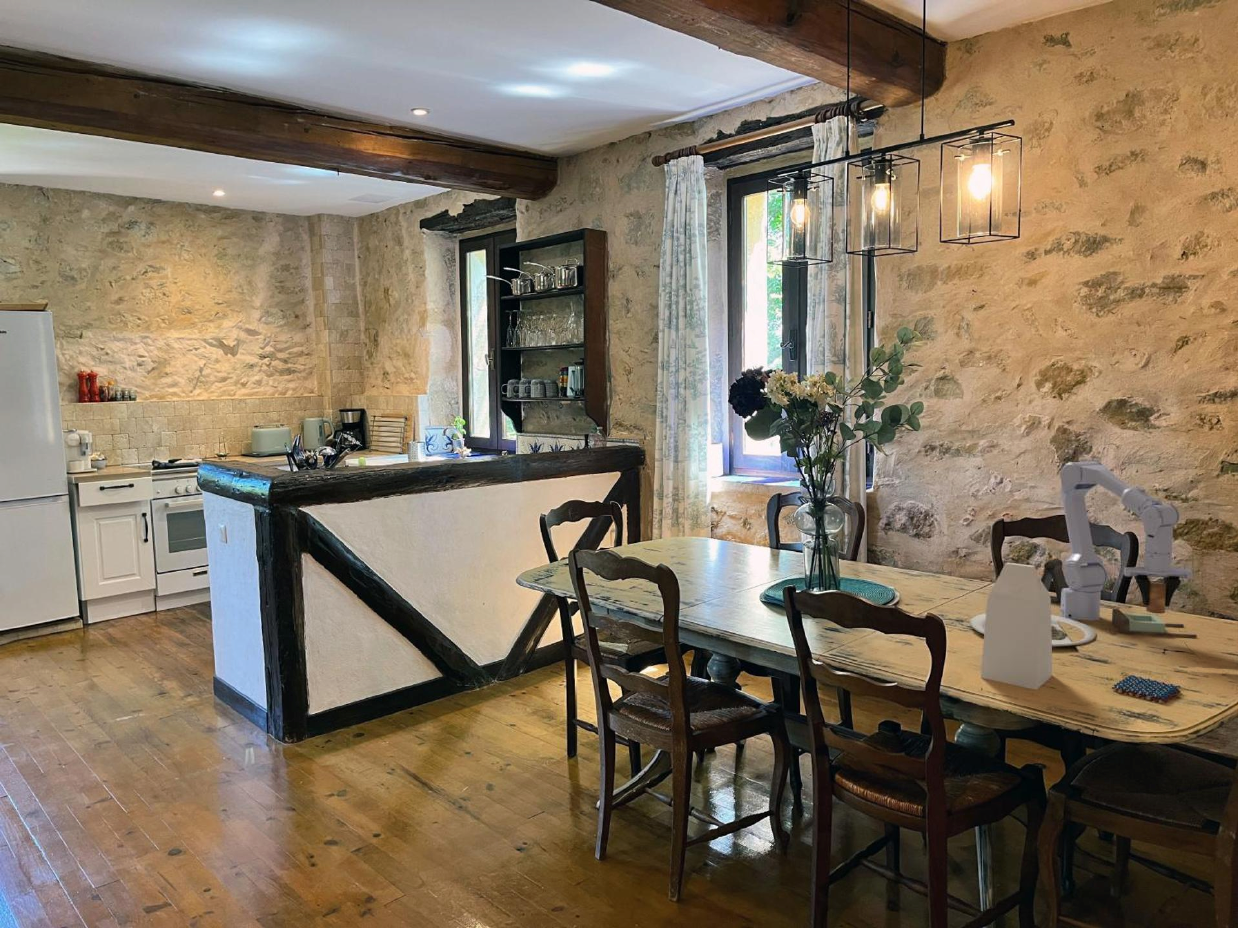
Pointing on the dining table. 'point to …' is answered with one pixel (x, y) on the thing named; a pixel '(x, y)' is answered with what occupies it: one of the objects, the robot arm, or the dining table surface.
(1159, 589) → the dowel
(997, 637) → the milk
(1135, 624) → the socket block
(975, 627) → the plated food
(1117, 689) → the woven mat
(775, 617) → the dining table surface
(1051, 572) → the door stopper
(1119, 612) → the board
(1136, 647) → the dining table surface
